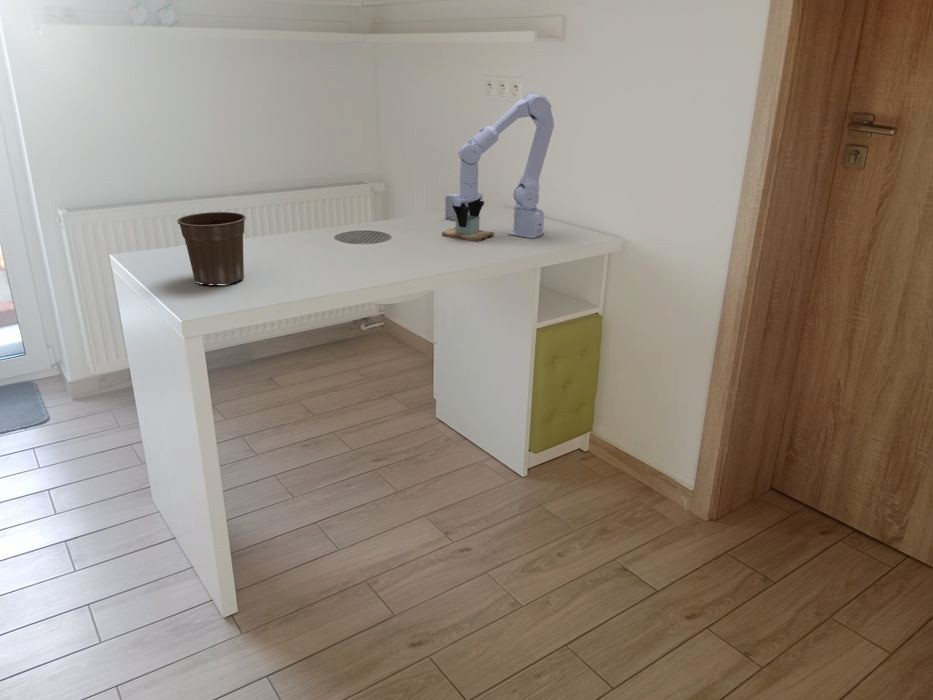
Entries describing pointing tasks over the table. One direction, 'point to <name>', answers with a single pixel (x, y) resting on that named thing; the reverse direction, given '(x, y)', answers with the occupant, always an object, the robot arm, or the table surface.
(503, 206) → the table surface
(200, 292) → the table surface
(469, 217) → the pale teal rectangular block
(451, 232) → the thin wooden board
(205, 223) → the plant pot
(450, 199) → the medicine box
